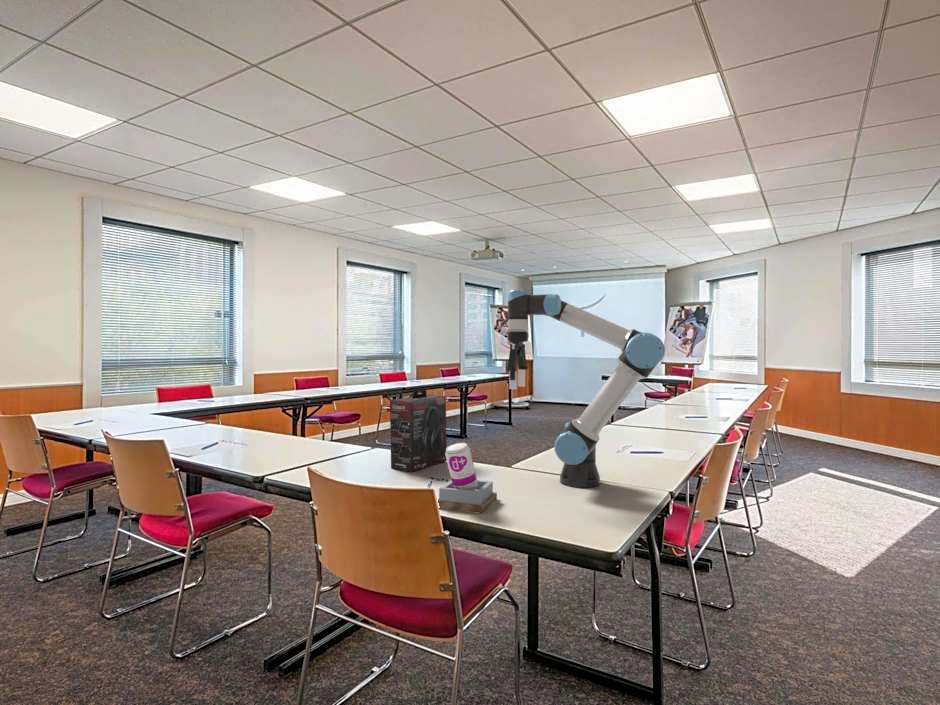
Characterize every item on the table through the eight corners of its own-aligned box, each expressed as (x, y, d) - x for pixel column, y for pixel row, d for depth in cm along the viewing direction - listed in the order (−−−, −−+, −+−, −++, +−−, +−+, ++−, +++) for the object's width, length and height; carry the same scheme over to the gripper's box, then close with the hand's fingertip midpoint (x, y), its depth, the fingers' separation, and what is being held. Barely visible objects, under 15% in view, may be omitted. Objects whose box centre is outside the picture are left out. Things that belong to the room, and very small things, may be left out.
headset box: (411, 472, 216) (411, 392, 215) (388, 468, 223) (388, 390, 222) (447, 462, 236) (448, 388, 235) (425, 458, 243) (426, 387, 242)
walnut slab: (496, 501, 179) (496, 492, 179) (482, 515, 164) (482, 506, 164) (452, 496, 185) (452, 488, 184) (435, 510, 169) (435, 500, 169)
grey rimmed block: (492, 493, 179) (492, 481, 178) (480, 505, 165) (480, 492, 165) (453, 489, 183) (453, 478, 183) (439, 500, 170) (439, 488, 169)
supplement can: (475, 493, 169) (465, 449, 167) (451, 495, 171) (441, 452, 169) (480, 482, 177) (471, 440, 175) (457, 485, 179) (448, 443, 177)
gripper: (516, 332, 210) (515, 385, 210) (499, 330, 186) (498, 390, 186) (534, 332, 207) (534, 385, 208) (519, 330, 184) (519, 390, 184)
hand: (517, 387), depth 197 cm, fingers open, 13 cm apart
